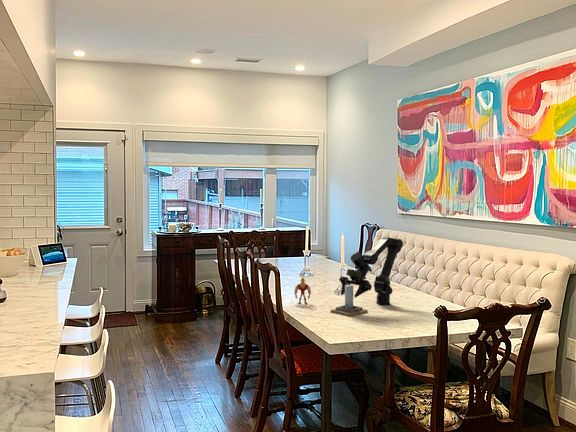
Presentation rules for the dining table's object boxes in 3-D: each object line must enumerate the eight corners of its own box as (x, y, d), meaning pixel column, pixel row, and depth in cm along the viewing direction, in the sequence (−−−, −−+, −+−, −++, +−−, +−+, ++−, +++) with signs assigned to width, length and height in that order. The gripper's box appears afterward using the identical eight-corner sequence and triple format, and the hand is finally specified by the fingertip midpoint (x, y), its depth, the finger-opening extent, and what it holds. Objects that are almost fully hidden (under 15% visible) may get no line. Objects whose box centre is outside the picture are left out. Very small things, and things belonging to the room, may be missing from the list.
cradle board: (347, 308, 313) (347, 303, 313) (367, 312, 303) (367, 307, 303) (330, 312, 303) (330, 307, 303) (351, 316, 293) (351, 311, 293)
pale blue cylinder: (354, 309, 305) (354, 285, 304) (352, 311, 301) (352, 286, 300) (346, 308, 306) (345, 284, 305) (344, 310, 302) (344, 286, 301)
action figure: (294, 304, 323) (294, 278, 322) (294, 302, 326) (294, 276, 326) (310, 304, 323) (311, 278, 322) (310, 303, 326) (311, 277, 325)
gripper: (341, 261, 311) (327, 284, 304) (368, 265, 298) (355, 289, 291) (350, 274, 317) (337, 296, 310) (377, 278, 304) (364, 301, 297)
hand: (348, 295), depth 302 cm, fingers open, 9 cm apart
